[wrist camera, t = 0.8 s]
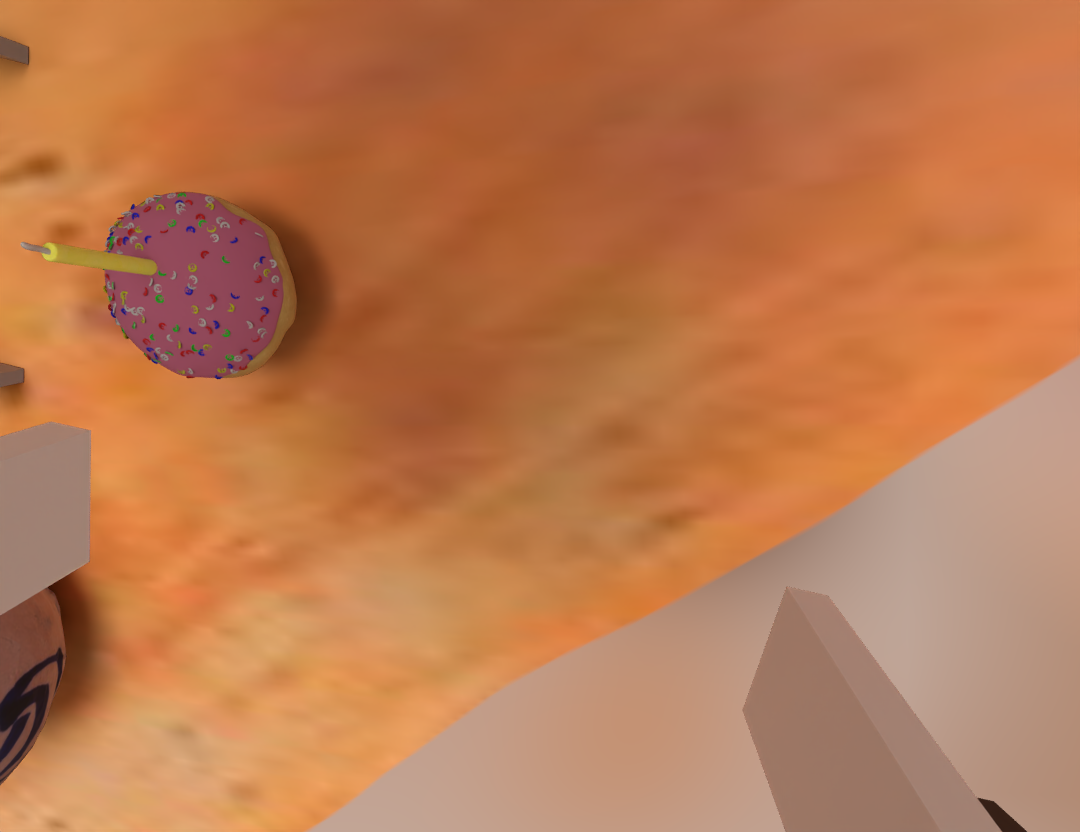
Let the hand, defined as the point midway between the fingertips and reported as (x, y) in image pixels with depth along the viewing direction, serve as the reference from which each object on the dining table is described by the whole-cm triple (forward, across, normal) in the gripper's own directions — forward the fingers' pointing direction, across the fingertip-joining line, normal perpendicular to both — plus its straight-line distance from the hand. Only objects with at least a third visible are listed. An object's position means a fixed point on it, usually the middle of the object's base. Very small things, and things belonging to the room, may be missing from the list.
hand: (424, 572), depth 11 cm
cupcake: (+22, -15, +1) cm, 27 cm away
